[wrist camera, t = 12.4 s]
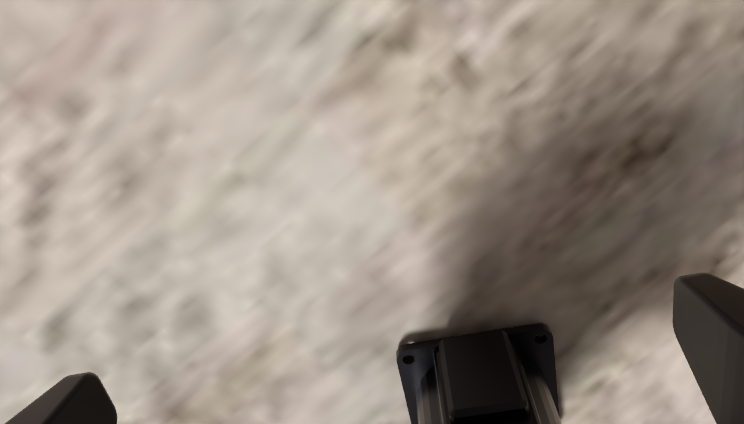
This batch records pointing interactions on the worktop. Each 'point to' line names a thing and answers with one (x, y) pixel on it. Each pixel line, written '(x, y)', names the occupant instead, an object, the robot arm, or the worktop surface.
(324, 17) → the worktop surface
